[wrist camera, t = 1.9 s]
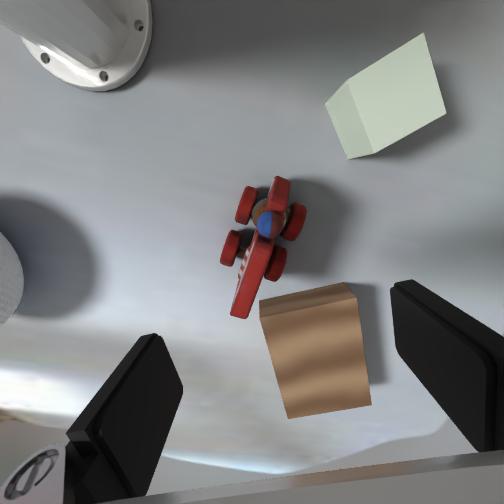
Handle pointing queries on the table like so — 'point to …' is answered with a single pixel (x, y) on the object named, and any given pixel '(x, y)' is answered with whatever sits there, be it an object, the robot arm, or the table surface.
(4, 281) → the cereal bowl
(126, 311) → the table surface
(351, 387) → the tan block
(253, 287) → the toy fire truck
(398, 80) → the sage cube
